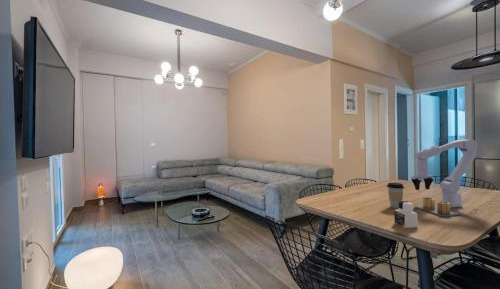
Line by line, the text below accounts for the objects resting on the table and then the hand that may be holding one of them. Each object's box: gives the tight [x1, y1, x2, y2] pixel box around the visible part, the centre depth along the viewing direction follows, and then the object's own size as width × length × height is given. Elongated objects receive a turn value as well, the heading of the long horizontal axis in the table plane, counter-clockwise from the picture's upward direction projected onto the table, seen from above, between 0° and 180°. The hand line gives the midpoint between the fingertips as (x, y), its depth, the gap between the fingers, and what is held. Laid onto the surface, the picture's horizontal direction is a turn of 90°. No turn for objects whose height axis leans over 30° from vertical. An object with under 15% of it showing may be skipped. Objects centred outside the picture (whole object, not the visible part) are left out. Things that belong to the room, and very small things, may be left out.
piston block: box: [413, 200, 462, 218], centre depth 138 cm, size 12×18×6 cm, turn 9°
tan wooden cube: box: [422, 196, 436, 209], centre depth 142 cm, size 6×6×6 cm
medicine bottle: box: [393, 200, 419, 229], centre depth 117 cm, size 7×7×12 cm
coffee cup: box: [386, 182, 405, 209], centre depth 148 cm, size 9×9×15 cm
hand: (422, 189), depth 152 cm, fingers open, 7 cm apart
